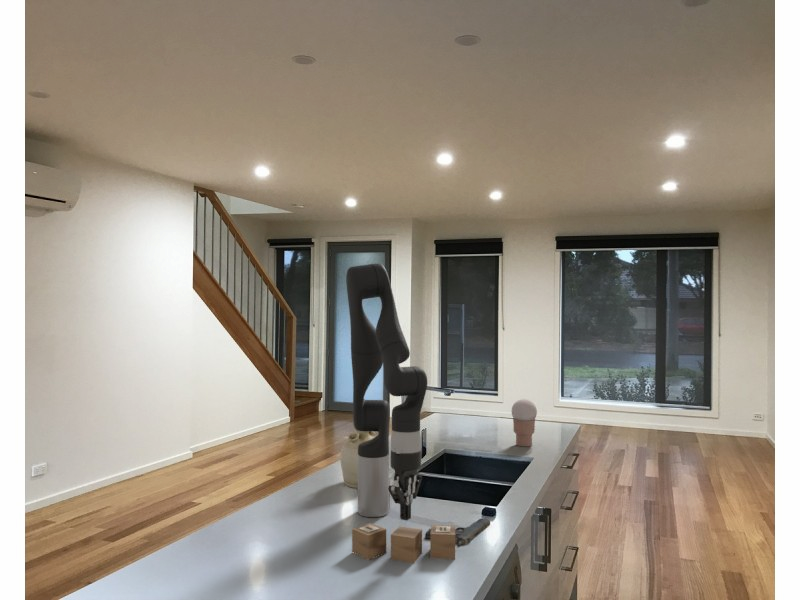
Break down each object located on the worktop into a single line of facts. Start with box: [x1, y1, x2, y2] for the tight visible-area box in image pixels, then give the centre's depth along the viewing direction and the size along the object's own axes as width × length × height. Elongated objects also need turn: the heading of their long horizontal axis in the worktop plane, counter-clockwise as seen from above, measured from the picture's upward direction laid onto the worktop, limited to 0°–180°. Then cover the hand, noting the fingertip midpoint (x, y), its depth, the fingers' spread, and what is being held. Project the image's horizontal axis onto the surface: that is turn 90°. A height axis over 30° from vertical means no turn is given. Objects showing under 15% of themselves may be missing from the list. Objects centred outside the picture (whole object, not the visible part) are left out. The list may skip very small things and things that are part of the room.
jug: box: [339, 423, 376, 489], centre depth 210 cm, size 15×16×25 cm
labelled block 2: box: [429, 524, 456, 560], centre depth 152 cm, size 6×6×6 cm
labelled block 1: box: [351, 522, 387, 560], centre depth 152 cm, size 6×6×6 cm
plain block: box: [390, 525, 423, 564], centre depth 150 cm, size 6×6×6 cm
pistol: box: [424, 517, 491, 547], centre depth 167 cm, size 2×19×12 cm
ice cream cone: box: [511, 398, 538, 447], centre depth 268 cm, size 11×11×20 cm
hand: (405, 519), depth 150 cm, fingers closed
